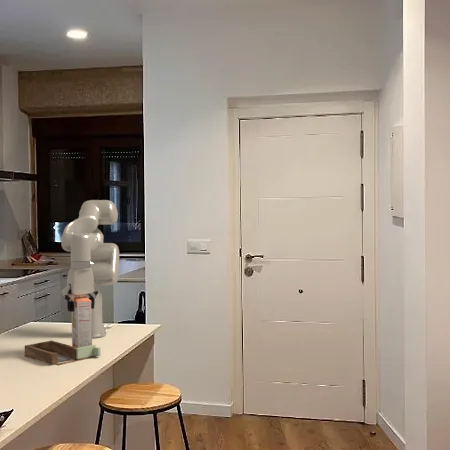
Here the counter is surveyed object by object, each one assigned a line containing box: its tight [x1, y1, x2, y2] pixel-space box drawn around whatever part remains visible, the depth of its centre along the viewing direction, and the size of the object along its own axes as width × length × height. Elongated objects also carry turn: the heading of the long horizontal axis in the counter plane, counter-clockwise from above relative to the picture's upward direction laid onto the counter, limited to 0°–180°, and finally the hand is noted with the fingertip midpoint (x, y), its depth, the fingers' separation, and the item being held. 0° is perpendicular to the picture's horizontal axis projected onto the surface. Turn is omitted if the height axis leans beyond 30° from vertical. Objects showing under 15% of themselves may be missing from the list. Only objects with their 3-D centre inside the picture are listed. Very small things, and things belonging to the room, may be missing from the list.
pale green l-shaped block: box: [76, 344, 101, 359], centre depth 211 cm, size 8×4×4 cm, turn 138°
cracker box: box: [71, 295, 93, 348], centre depth 223 cm, size 14×6×21 cm, turn 23°
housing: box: [24, 340, 98, 366], centre depth 215 cm, size 18×21×4 cm
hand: (81, 309), depth 223 cm, fingers open, 8 cm apart
